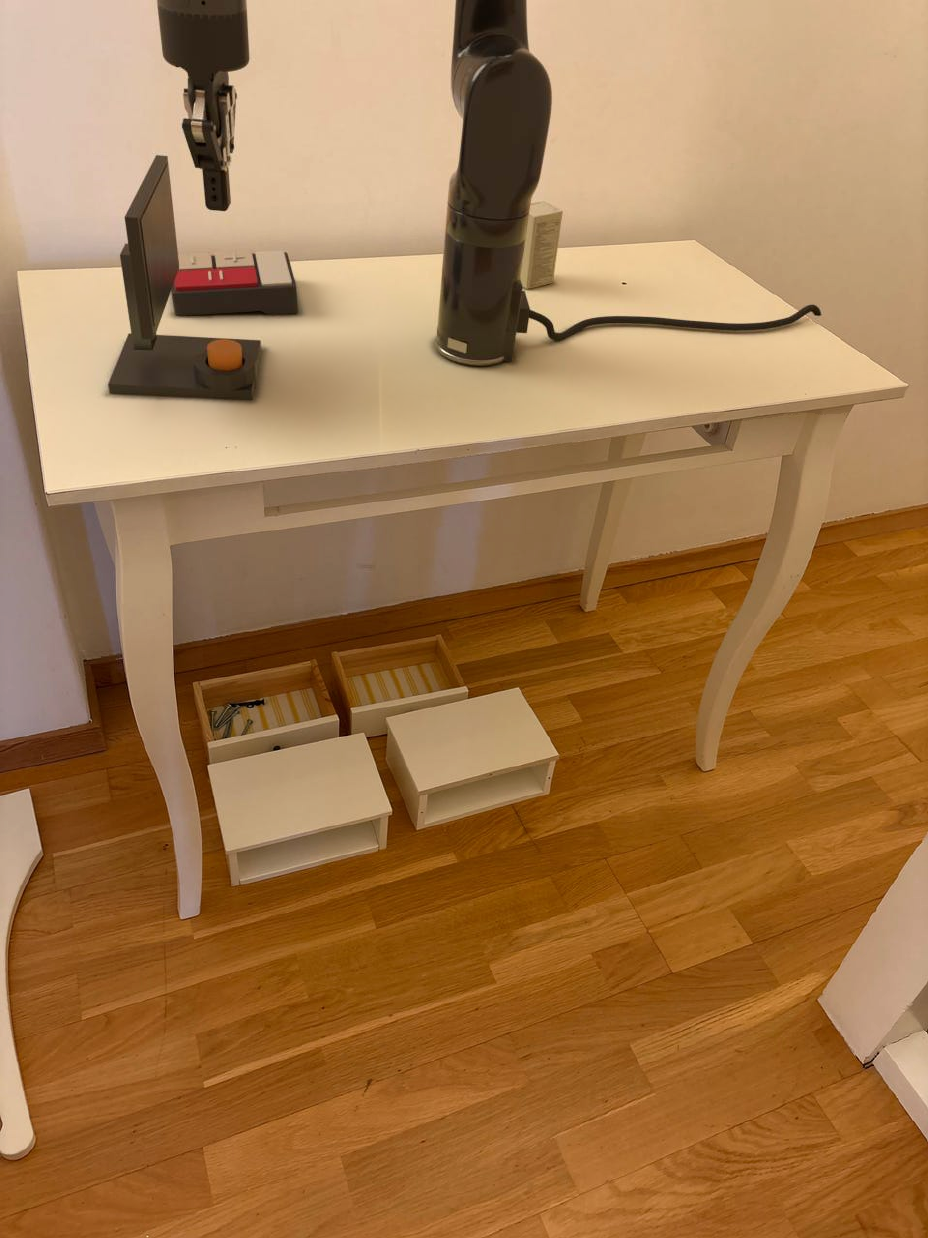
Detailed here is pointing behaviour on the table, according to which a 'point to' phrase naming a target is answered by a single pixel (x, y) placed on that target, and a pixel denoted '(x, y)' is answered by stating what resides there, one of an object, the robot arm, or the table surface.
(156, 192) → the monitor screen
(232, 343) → the power button
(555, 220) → the cream printed box
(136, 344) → the monitor stand
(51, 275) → the table surface
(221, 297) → the calculator
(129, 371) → the monitor base
